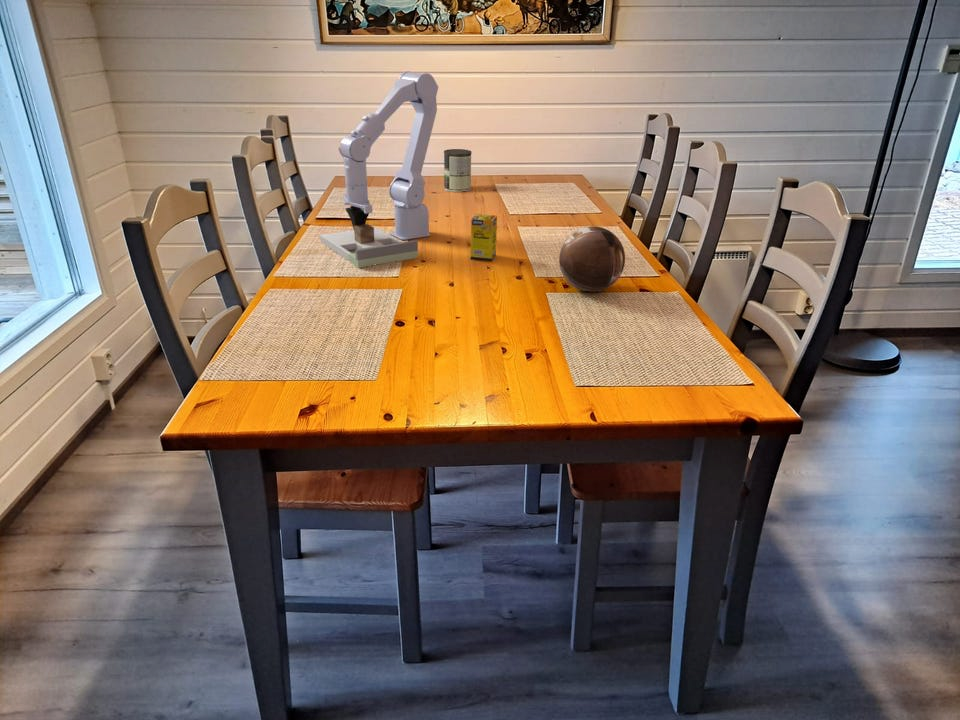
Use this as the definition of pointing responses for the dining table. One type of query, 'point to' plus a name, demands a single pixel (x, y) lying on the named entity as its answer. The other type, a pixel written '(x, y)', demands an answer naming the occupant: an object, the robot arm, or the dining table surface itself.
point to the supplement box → (483, 237)
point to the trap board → (370, 248)
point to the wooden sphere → (592, 259)
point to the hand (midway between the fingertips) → (359, 233)
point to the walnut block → (364, 233)
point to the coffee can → (457, 170)
